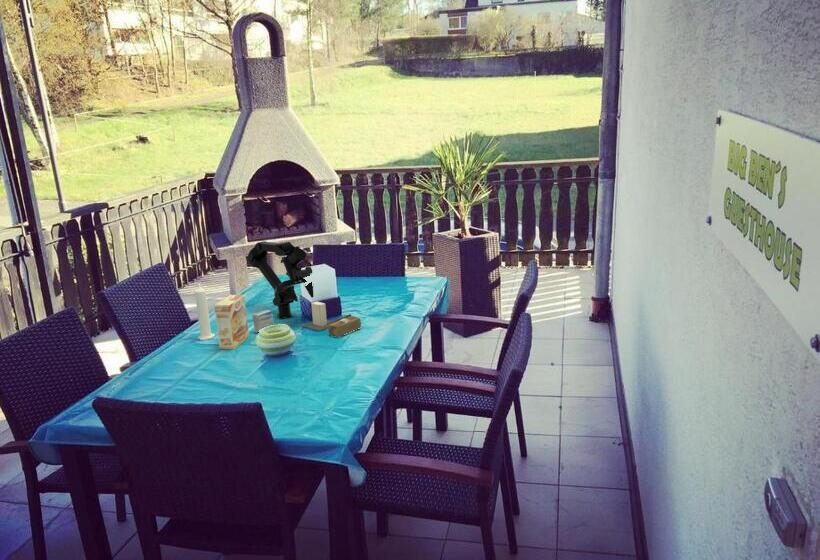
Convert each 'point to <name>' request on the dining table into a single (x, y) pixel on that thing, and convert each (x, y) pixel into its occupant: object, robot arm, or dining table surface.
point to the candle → (203, 314)
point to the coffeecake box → (231, 321)
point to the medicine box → (262, 319)
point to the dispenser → (343, 325)
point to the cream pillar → (319, 313)
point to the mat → (315, 326)
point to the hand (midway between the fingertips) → (305, 299)
